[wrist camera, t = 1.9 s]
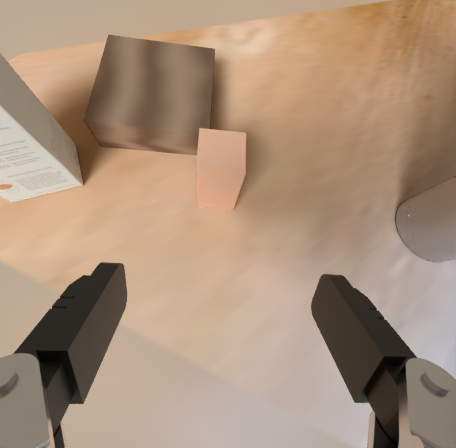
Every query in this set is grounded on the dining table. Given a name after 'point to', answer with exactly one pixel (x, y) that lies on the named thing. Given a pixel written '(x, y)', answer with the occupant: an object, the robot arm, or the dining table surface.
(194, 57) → the walnut block
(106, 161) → the dining table surface
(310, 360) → the dining table surface
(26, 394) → the robot arm
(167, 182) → the dining table surface
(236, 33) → the dining table surface
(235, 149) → the terracotta block
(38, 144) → the small box
